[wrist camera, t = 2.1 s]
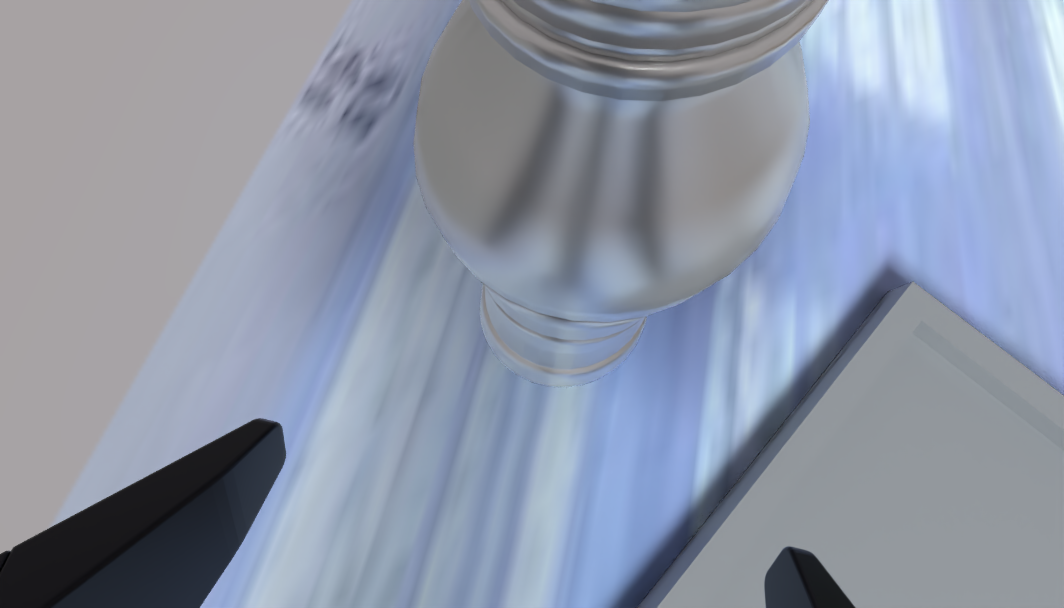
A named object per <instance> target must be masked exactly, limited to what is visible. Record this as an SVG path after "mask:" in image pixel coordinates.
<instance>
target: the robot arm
mask: <svg viewBox="0 0 1064 608" xmlns="http://www.w3.org/2000/svg"><path fill="white" fill-rule="evenodd" d="M285 459H286V449H285V443H284V436H283V429H282V426H281V425H280V423H278V422H275V421H270V420H266V419H261V418H259V419H255V420H252V421H250V422H248V423H247V424H245V425H243V426H241V427H239V428H237V429H235V430H233V431H231V432H230V433H228V434H226V435H224V436H222V437H220V438H218V439H216V440H215V441H213V442H211V443H209V444H207V445H205V446H203V447H201V448H199V449H198V450H196V451H194V452H192V453H190V454H188V455H186V456H184V457H182V458H181V459H179V460H177V461H175V462H173V463H171V464H169V465H167V466H165V467H164V468H162V469H160V470H158V471H156V472H154V473H152V474H150V475H149V476H147V477H145V478H143V479H141V480H139V481H137V482H135V483H133V484H132V485H130V486H128V487H126V488H124V489H122V490H120V491H118V492H116V493H115V494H113V495H111V496H109V497H107V498H105V499H103V500H101V501H100V502H98V503H96V504H94V505H92V506H90V507H88V508H86V509H84V510H83V511H81V512H79V513H77V514H75V515H73V516H71V517H69V518H67V519H66V520H64V521H62V522H60V523H58V524H56V525H54V526H52V527H51V528H49V529H47V530H45V531H43V532H41V533H39V534H38V535H35V536H34V537H32V538H30V539H28V540H26V541H24V542H22V543H21V544H18V545H17V546H15V547H14V548H13V549H12V550H11V551H5V552H3V553H1V554H0V608H200V606H201V605H202V603H203V602H204V600H205V599H206V597H207V596H208V594H209V593H210V591H211V590H212V588H213V587H214V585H215V584H216V582H217V581H218V579H219V578H220V576H221V575H222V573H223V572H224V570H225V569H226V567H227V566H228V564H229V563H230V561H231V560H232V558H233V557H234V555H235V553H236V552H237V550H238V549H239V547H240V546H241V544H242V542H243V540H244V538H245V537H246V535H247V533H248V531H249V529H250V528H251V526H252V524H253V522H254V520H255V518H256V516H257V514H258V512H259V511H260V509H261V507H262V505H263V503H264V501H265V499H266V497H267V496H268V494H269V492H270V490H271V488H272V486H273V484H274V482H275V480H276V479H277V477H278V475H279V473H280V471H281V469H282V467H283V465H284V462H285ZM764 591H765V605H766V608H856V607H855V606H854V605H853V603H852V602H851V601H850V600H849V598H848V597H847V596H846V594H845V593H844V592H843V590H842V589H841V588H840V587H839V585H838V584H837V583H836V581H835V580H834V579H833V578H832V576H831V575H830V574H829V572H828V571H827V570H826V569H825V567H824V566H823V565H822V563H821V562H820V561H819V560H818V558H817V557H816V556H815V555H814V554H813V553H811V552H810V551H807V550H804V549H799V548H795V547H791V546H787V547H785V548H783V549H782V551H781V552H780V553H779V555H778V556H777V558H776V559H775V561H774V562H773V563H772V565H771V566H770V568H769V569H768V571H767V573H766V576H765V580H764Z"/></svg>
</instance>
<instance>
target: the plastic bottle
mask: <svg viewBox="0 0 1064 608" xmlns="http://www.w3.org/2000/svg"><path fill="white" fill-rule="evenodd" d="M828 1H829V0H462V2H461V3H460V5H459V6H458V8H457V9H456V11H455V12H454V14H453V16H452V17H451V19H450V21H449V22H448V24H447V26H446V28H445V29H444V31H443V33H442V34H441V36H440V38H439V39H438V41H437V43H436V44H435V46H434V48H433V50H432V53H431V56H430V58H429V61H428V63H427V66H426V69H425V71H424V74H423V76H422V80H421V87H420V94H419V101H418V107H417V115H416V125H415V134H414V155H415V168H416V177H417V180H418V183H419V186H420V190H421V193H422V196H423V199H424V202H425V205H426V208H427V210H428V212H429V213H430V215H431V217H432V218H433V220H434V222H435V224H436V225H437V227H438V229H439V230H440V232H441V234H442V235H443V237H444V239H445V240H446V242H447V243H448V244H449V246H450V247H451V249H452V251H453V252H454V254H455V255H456V256H457V257H458V258H459V260H460V261H461V262H462V263H463V264H464V265H465V266H466V267H467V268H468V269H469V270H470V271H471V272H472V274H473V275H474V276H475V277H476V278H477V279H478V280H480V281H481V282H482V283H483V285H482V292H481V301H480V318H481V326H482V329H483V332H484V336H485V339H486V341H487V343H488V345H489V346H490V348H491V350H492V351H493V353H494V355H495V356H496V357H497V358H498V359H499V360H500V361H501V362H502V364H503V365H504V366H505V367H507V368H508V369H509V370H511V371H512V372H514V373H515V374H516V375H518V376H520V377H522V378H524V379H526V380H528V381H530V382H533V383H536V384H540V385H545V386H549V387H572V386H579V385H584V384H587V383H590V382H592V381H595V380H598V379H600V378H602V377H604V376H605V375H607V374H609V373H610V372H612V371H614V370H615V369H616V368H617V367H618V366H619V365H620V364H621V363H622V362H624V361H625V360H626V359H627V357H628V356H629V355H630V353H631V352H632V351H633V349H634V348H635V347H636V345H637V342H638V340H639V338H640V336H641V334H642V332H643V329H644V326H645V324H646V320H647V316H649V315H651V314H654V313H657V312H660V311H662V310H665V309H668V308H671V307H674V306H677V305H679V304H681V303H683V302H684V301H686V300H688V299H689V298H691V297H693V296H694V295H696V294H698V293H699V292H701V291H703V290H705V289H706V288H708V287H710V286H711V285H713V284H714V283H716V282H717V281H719V280H721V279H722V278H724V277H726V276H728V275H729V274H730V273H731V272H733V271H734V270H735V269H736V268H737V267H738V266H739V265H740V264H741V263H742V262H744V261H745V260H746V259H747V258H748V257H749V256H750V255H751V254H752V253H753V252H755V251H756V250H757V249H758V247H759V246H760V244H761V243H762V242H763V240H764V239H765V238H766V236H767V235H768V233H769V232H770V231H771V229H772V228H773V226H774V225H775V224H776V222H777V221H778V219H779V217H780V214H781V212H782V209H783V207H784V205H785V202H786V200H787V198H788V195H789V193H790V190H791V188H792V186H793V183H794V180H795V178H796V175H797V173H798V170H799V167H800V165H801V162H802V160H803V157H804V153H805V147H806V142H807V136H808V130H809V124H810V118H809V102H808V88H807V82H806V75H805V69H804V62H803V56H802V49H801V46H800V42H799V41H800V39H801V38H802V37H803V36H804V34H805V33H806V32H807V30H808V29H809V28H810V27H811V25H812V24H813V23H814V21H815V20H816V19H817V17H818V16H819V14H820V13H821V11H822V10H823V8H824V7H825V5H826V4H827V2H828Z"/></svg>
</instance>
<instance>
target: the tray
mask: <svg viewBox="0 0 1064 608" xmlns="http://www.w3.org/2000/svg"><path fill="white" fill-rule="evenodd" d="M787 546H791V547H795V548H799V549H804V550H807V551H810V552H811V553H813V554H814V555H815V556H816V557H817V558H818V560H819V561H820V562H821V563H822V565H823V566H824V567H825V569H826V570H827V571H828V572H829V574H830V575H831V576H832V578H833V579H834V580H835V581H836V583H837V584H838V585H839V587H840V588H841V589H842V590H843V592H844V593H845V594H846V596H847V597H848V598H849V600H850V601H851V602H852V603H853V605H854V606H855V607H856V608H1064V396H1063V395H1062V394H1061V393H1059V392H1058V391H1057V390H1056V389H1054V388H1053V387H1052V386H1050V385H1049V384H1048V383H1046V382H1045V381H1044V380H1042V379H1041V378H1040V377H1038V376H1037V375H1036V374H1034V373H1033V372H1032V371H1030V370H1029V369H1028V368H1026V367H1025V366H1024V365H1023V364H1021V363H1020V362H1019V361H1017V360H1016V359H1015V358H1013V357H1012V356H1011V355H1009V354H1008V353H1007V352H1005V351H1004V350H1003V349H1001V348H1000V347H999V346H997V345H996V344H995V343H993V342H992V341H991V340H990V339H988V338H987V337H986V336H984V335H983V334H982V333H980V332H979V331H978V330H976V329H975V328H974V327H972V326H971V325H970V324H968V323H967V322H966V321H964V320H963V319H962V318H960V317H959V316H958V315H956V314H955V313H954V312H953V311H951V310H950V309H949V308H947V307H946V306H945V305H943V304H942V303H941V302H939V301H938V300H937V299H935V298H934V297H933V296H931V295H930V294H929V293H927V292H926V291H925V290H923V289H922V288H921V287H920V286H918V285H917V284H916V283H914V282H910V283H908V284H905V285H903V286H900V287H898V288H895V289H893V290H890V291H888V292H887V293H886V294H885V296H884V297H883V298H882V299H881V301H880V302H879V303H878V304H877V306H876V307H875V308H874V309H873V311H872V312H871V313H870V314H869V316H868V317H867V318H866V319H865V321H864V322H863V323H862V325H861V326H860V327H859V328H858V330H857V331H856V332H855V333H854V335H853V336H852V337H851V338H850V340H849V341H848V342H847V343H846V345H845V346H844V347H843V349H842V350H841V351H840V352H839V354H838V355H837V356H836V357H835V359H834V360H833V361H832V362H831V364H830V365H829V366H828V367H827V369H826V370H825V371H824V372H823V374H822V375H821V376H820V378H819V379H818V380H817V381H816V383H815V384H814V385H813V386H812V388H811V389H810V390H809V391H808V393H807V394H806V395H805V396H804V398H803V399H802V400H801V401H800V403H799V404H798V405H797V407H796V408H795V409H794V410H793V412H792V413H791V414H790V415H789V417H788V418H787V419H786V420H785V422H784V423H783V424H782V425H781V427H780V428H779V429H778V430H777V432H776V433H775V434H774V436H773V437H772V438H771V439H770V441H769V442H768V443H767V444H766V446H765V447H764V448H763V449H762V451H761V452H760V453H759V454H758V456H757V457H756V458H755V459H754V461H753V462H752V463H751V465H750V466H749V467H748V468H747V470H746V471H745V472H744V473H743V475H742V476H741V477H740V478H739V480H738V481H737V482H736V483H735V485H734V486H733V487H732V488H731V490H730V491H729V492H728V494H727V495H726V496H725V497H724V499H723V500H722V501H721V502H720V504H719V505H718V506H717V507H716V509H715V510H714V511H713V512H712V514H711V515H710V516H709V517H708V519H707V520H706V521H705V523H704V524H703V525H702V526H701V528H700V529H699V530H698V531H697V533H696V534H695V535H694V536H693V538H692V539H691V540H690V541H689V543H688V544H687V545H686V547H685V548H684V549H683V550H682V552H681V553H680V554H679V555H678V557H677V558H676V559H675V560H674V562H673V563H672V564H671V565H670V567H669V568H668V569H667V570H666V572H665V573H664V574H663V576H662V577H661V578H660V579H659V581H658V582H657V583H656V584H655V586H654V587H653V588H652V589H651V591H650V592H649V593H648V594H647V596H646V597H645V598H644V599H643V601H642V602H641V603H640V605H639V606H638V607H637V608H766V605H765V591H764V580H765V576H766V573H767V571H768V569H769V568H770V566H771V565H772V563H773V562H774V561H775V559H776V558H777V556H778V555H779V553H780V552H781V551H782V549H783V548H785V547H787Z"/></svg>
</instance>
